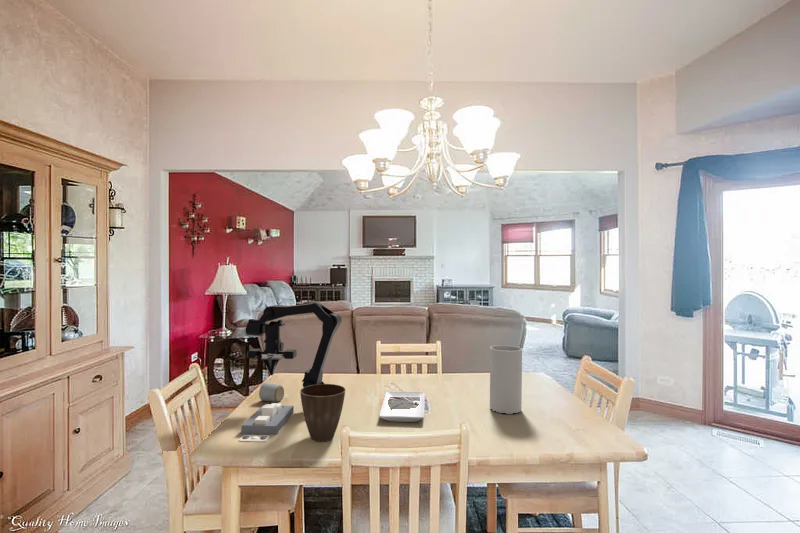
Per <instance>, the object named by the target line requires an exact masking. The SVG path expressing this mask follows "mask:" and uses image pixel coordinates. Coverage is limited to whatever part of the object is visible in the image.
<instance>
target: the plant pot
mask: <svg viewBox="0 0 800 533" xmlns="http://www.w3.org/2000/svg"><path fill="white" fill-rule="evenodd" d="M299 394H300V399H301V400H300V402H301V408H302V412H303V413H302V414H303V417H304V421H305V424H306V428H307V431H308V433H309V437H310V439H311V440H312V441H313V442H320V443H322V442H328V441H331V440H333V438H334V436H335V434H336V431H337V428H338V425H339V423H340V422H339V421H340V419H341V415H342V412H343V411H342V410H343V406H344V401H345V396H346V388H345V386H342V385H339V384H333V383H324V384H316V385H310V386H306V387H301V389H300V390H299Z"/></svg>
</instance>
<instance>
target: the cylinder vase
mask: <svg viewBox="0 0 800 533" xmlns="http://www.w3.org/2000/svg"><path fill="white" fill-rule="evenodd" d="M489 348H490V350H489V352H490V353H489V355H490V356H489V357H490V359H489V408H490V410H491V409H492V410H491V411H492V412H495V411H496V412H495V413H497V412H499V413H498V414H501V413H506V414H505V415H514V414H513V413H517V414H519V413H521V411H522V404H523V403H522V390H523V389H522V388H523V387H522V386H523V385H522V384H523V382H522V380H523V348H522V347H519V346H515V345H508V344H507V345H505V344H504V345H503V344H502V345H501V344H498V345H491V346H490V347H489ZM518 412H519V413H518Z"/></svg>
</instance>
